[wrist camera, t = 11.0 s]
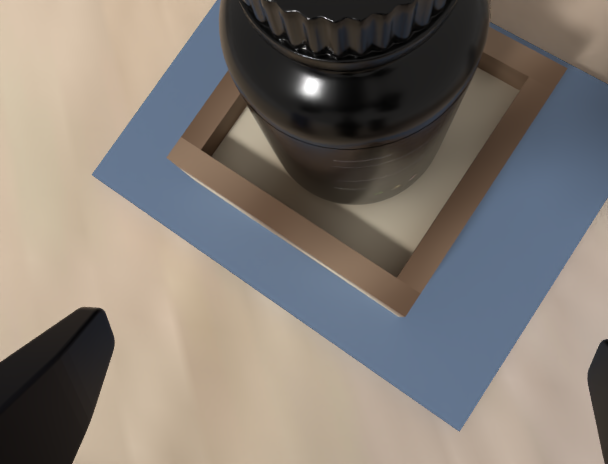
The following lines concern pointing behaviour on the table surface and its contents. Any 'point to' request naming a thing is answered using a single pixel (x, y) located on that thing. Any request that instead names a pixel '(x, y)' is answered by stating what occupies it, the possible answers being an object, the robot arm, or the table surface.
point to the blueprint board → (450, 273)
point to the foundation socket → (388, 213)
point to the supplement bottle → (353, 85)
